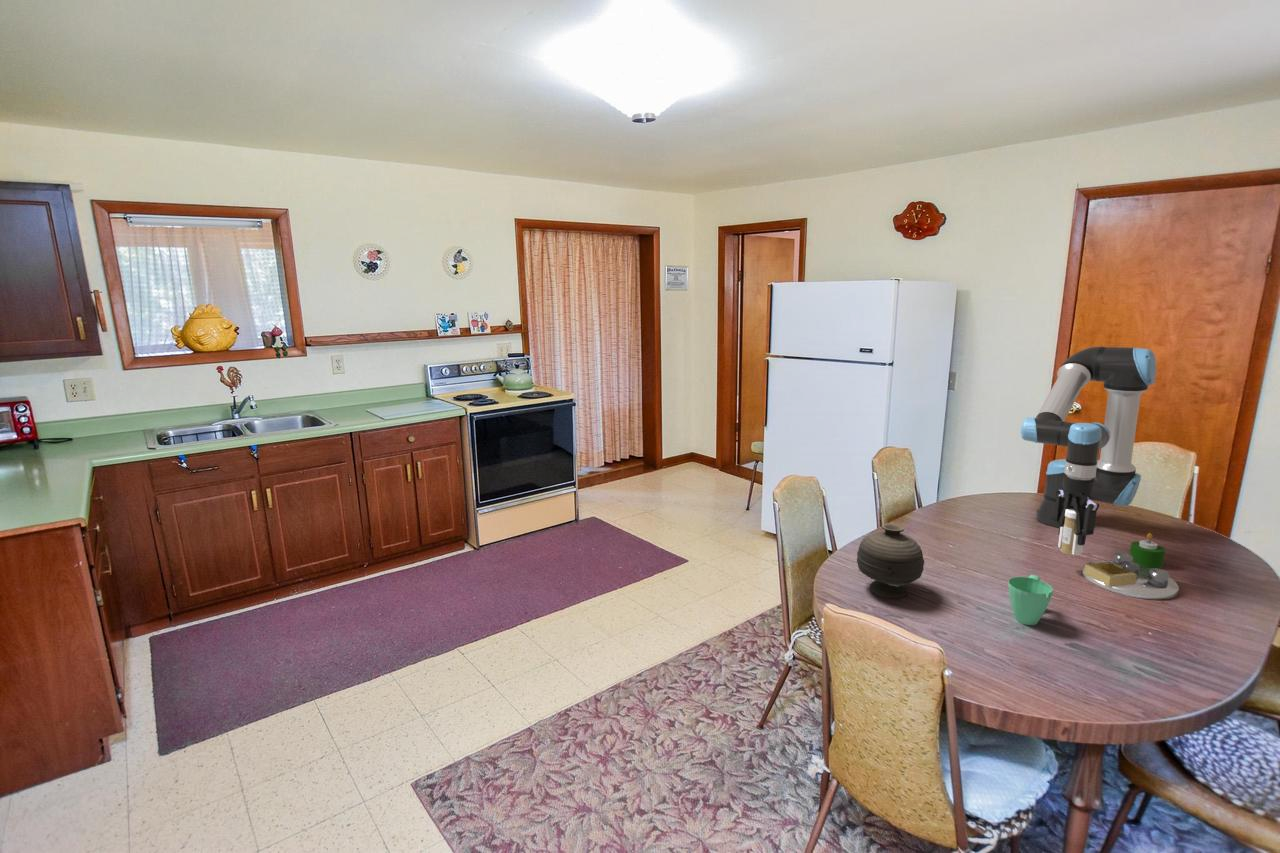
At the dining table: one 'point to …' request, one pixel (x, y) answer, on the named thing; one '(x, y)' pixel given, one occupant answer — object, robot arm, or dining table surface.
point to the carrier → (1130, 578)
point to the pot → (890, 561)
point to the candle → (1147, 553)
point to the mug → (1029, 598)
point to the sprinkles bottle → (1069, 531)
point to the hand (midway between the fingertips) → (1069, 550)
